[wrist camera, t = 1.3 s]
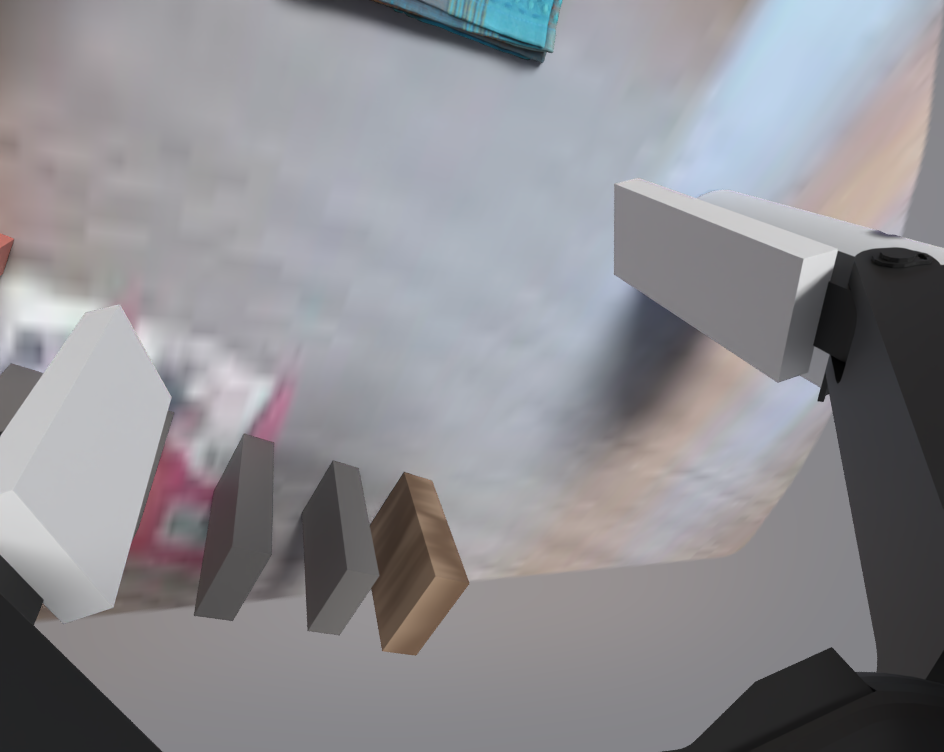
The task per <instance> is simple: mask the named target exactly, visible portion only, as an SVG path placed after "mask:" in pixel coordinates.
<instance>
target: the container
mask: <svg viewBox="0 0 944 752" xmlns="http://www.w3.org/2000/svg"><path fill="white" fill-rule="evenodd" d="M697 199H699V200H702V201H705V202H708V203H711V204H713V205H716V206H719V207H722V208H725V209H727V210H730V211H733V212H736V213H739V214H742V215H744V216H747V217H750V218H753V219H756V220H758V221H761V222H764V223H767V224H770V225H772V226H775V227H778V228H781V229H784V230H787V231H789V232H792V233H795V234H798V235H801V236H803V237H806V238H809V239H812V240H815V241H817V242H820V243H823V244H826V245H829V246H831V247H834V248H837V249H838V251H840V252H843V253H846V254H849V255H852V256H854V257H855V256H856V255H857V254H858V253H860V252H862V251H865V250H869V249H874V248H890V247H899V248H906V249H910V250H914V251H919V252H922V253H927V254H928V255H930V256H932V257H934V258H935V259H936V260H937V261H938V262H939V263H940V265H944V248H941V247H936V246H933V245H930V244H926V243H922V242H919V241H915V240H911V239H908V238H904V237H900V236H897V235H888V234H885V233H883V232H881V231H878V230H875V229H871V228H867V227H864V226H860V225H856V224H853V223H849V222H845V221H842V220H838V219H834V218H831V217H827V216H824V215H820V214H816V213H813V212H809V211H805V210H802V209H798V208H794V207H791V206H787V205H783V204H780V203H776V202H772V201H769V200H765V199H761V198H758V197H754V196H750V195H747V194H743V193H739V192H736V191H732V190H716V191H712V192H709V193H706V194H704V195H702V196H700V197H698V198H697ZM828 359H829V354H828V353H826V352H824V351H822V350H820V349H819V348H817V347H815V346H814V350H813V354H812V359H811V363H810V367H809V371H808V373H805V374H802V375H800V376H802V377H803V378H805V379H807V380H808V381H810V382H812V383H813V384H815V385H817V386H818V387H820V388H821V385H822V381H823V378H824V374H825V370H826V366H827V362H828Z"/></svg>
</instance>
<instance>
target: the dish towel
mask: <svg viewBox="0 0 944 752" xmlns="http://www.w3.org/2000/svg"><path fill="white" fill-rule="evenodd" d="M371 1H374V2H377V3H380V4H383V5H386V6H388V7H390V8H392V9H393V10H394V11H396V12H400V13H403V12H404V13H405V14H406V15H407V16H409V17H412V18H416V19H417V20H419V21H421V22H425V23H428V24H431V25H435V26H438V27H441V28H444V29H446V30H448V31H450V32H452V33H455V34H457V35H461V36H463V37H466V38H468V39H471V40H474V41H477V42H479V43H482V44H484V45H487V46H489V47H492V48H494V49H497V50H499V51H502V52H505V53H509V54H512V55H515V56H518V57H520V58H523V59H526V60H530V59H533V60H536V61H539V62H540V63H543V62H544V60H545V56H546V52H549V53H553V50H554V43H555V36H556V25H557V21H558V16H559V11H560V7H561V4H562V0H371Z"/></svg>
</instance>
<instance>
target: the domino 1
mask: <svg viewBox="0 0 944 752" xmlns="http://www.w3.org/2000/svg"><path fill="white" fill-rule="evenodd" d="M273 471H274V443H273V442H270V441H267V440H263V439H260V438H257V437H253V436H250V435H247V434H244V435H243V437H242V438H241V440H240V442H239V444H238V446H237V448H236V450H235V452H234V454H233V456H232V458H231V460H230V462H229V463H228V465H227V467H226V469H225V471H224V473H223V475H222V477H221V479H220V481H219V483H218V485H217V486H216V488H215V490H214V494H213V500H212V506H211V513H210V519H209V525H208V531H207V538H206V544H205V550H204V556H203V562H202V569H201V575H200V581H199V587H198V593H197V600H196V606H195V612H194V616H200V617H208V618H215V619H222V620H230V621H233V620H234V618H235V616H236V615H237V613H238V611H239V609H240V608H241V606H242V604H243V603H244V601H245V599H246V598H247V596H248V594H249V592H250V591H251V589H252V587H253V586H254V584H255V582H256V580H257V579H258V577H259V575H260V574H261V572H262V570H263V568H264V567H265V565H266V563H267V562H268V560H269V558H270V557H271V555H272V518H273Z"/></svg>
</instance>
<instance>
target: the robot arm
mask: <svg viewBox="0 0 944 752" xmlns="http://www.w3.org/2000/svg"><path fill="white" fill-rule="evenodd" d="M614 275H616V276H617V277H619V278H620V279H622V280H623V281H625V282H626V283H628V284H629V285H631V286H632V287H634V288H635V289H637V290H638V291H640V292H641V293H643V294H644V295H646V296H647V297H649V298H650V299H652V300H653V301H655V302H656V303H658V304H659V305H661V306H663V307H664V308H666V309H667V310H669V311H670V312H672V313H673V314H675V315H676V316H678V317H679V318H681V319H682V320H684V321H685V322H687V323H688V324H690V325H691V326H693V327H694V328H696V329H697V330H699V331H700V332H702V333H703V334H705V335H706V336H708V337H709V338H711V339H712V340H714V341H715V342H717V343H719V344H720V345H722V346H723V347H725V348H726V349H728V350H729V351H731V352H732V353H734V354H735V355H737V356H738V357H740V358H741V359H743V360H744V361H746V362H747V363H749V364H750V365H752V366H753V367H755V368H756V369H758V370H759V371H761V372H762V373H764V374H765V375H767V376H768V377H770V378H771V379H773V380H775V381H776V382H781V381H784V380H787V379H790V378H793V377H796V376H799V375H802V374H805V373H808V371H809V367H810V363H811V359H812V354H813V350H814V346H815V347H817V348H819V349H820V350H822V351H824V352H826V353H828V354H829V359H828V362H827V366H826V370H825V374H824V378H823V381H822V385H821V389H820V393H819V397H818V401H820V402H824V399H825V396H826V395H828V394H829V395H830V400H831V406H832V411H833V416H834V422H835V426H836V432H837V438H838V443H839V448H840V454H841V459H842V464H843V470H844V475H845V480H846V486H847V491H848V496H849V502H850V507H851V513H852V518H853V523H854V528H855V534H856V540H857V545H858V550H859V555H860V560H861V566H862V571H863V576H864V582H865V587H866V593H867V598H868V604H869V609H870V615H871V620H872V625H873V630H874V636H875V641H876V648H877V672H854V670H853V669H852V668H851V667H850V666H849V665H848V664H847V663H846V662H845V661H844V660H843V659H842V657H840V655H839V654H838V653H837V652H836V651H835V650H834V649H833V648H832V647H831V648H829V649H827V650H824V651H823V652H820V653H818V654H816V655H813V656H811V657H809V658H807V659H805V660H803V661H800V662H798V663H796V664H794V665H791V666H789V667H787V668H785V669H782V670H780V671H778V672H776V673H774V674H771V675H769V676H767V677H765V678H763V679H760V680H758V681H756V682H755V683H754V684H753V685H752V686H751V687H749V688H748V690H746V692H744V693H743V694H742V695H741V696H740V697H739V698H738V699H737V700H736V701H735V702H734V703H733V704H732V705H731V706H730V707H729V708H728V709H727V710H726V711H725V712H724V713H723V714H722V715H721V716H720V717H719V718H718V719H717V720H716V721H715V722H714V723H713V724H712V725H711V726H710V727H709V728H708V729H707V730H706V731H705V732H704V733H703V734H702V735H701V736H700V737H699V738H697V739H696V740H695V741H694V742H693V743H692V744H691V745H689V746H687V747H685V748H682V749H678V750H672V751H663V752H944V265H940V263H939V262H938V261H937V260H936V259H935V258H934V257H932V256H930V255H928V254H927V253H922V252H919V251H914V250H910V249H906V248H899V247H890V248H874V249H869V250H865V251H862V252H860V253H858V254H857V255H856V256H855V257H854V256H852V255H849V254H846V253H843V252H840V251H838V249H837V248H834V247H831V246H829V245H826V244H823V243H820V242H817V241H815V240H812V239H809V238H806V237H803V236H801V235H798V234H795V233H792V232H789V231H787V230H784V229H781V228H778V227H775V226H772V225H770V224H767V223H764V222H761V221H758V220H756V219H753V218H750V217H747V216H744V215H742V214H739V213H736V212H733V211H730V210H727V209H725V208H722V207H719V206H716V205H713V204H711V203H708V202H705V201H702V200H699V199H697V198H694V197H691V196H688V195H685V194H683V193H680V192H677V191H674V190H671V189H668V188H666V187H663V186H660V185H657V184H654V183H652V182H649V181H646V180H643V179H640V178H636V179H632V180H628V181H624V182H620V183H616V184H614ZM170 401H171V396H170V394H169V392H168V390H167V388H166V386H165V385H164V383H163V381H162V379H161V377H160V376H159V374H158V372H157V370H156V368H155V367H154V365H153V363H152V361H151V359H150V358H149V356H148V354H147V352H146V350H145V349H144V347H143V345H142V343H141V341H140V340H139V338H138V336H137V334H136V332H135V331H134V329H133V327H132V325H131V323H130V322H129V320H128V318H127V316H126V314H125V313H124V311H123V309H122V307H121V305H120V304H119V305H114V306H110V307H106V308H102V309H98V310H94V311H90V312H86V313H85V314H84V315H83V317H82V318H81V320H80V321H79V322H78V324H77V325H76V327H75V328H74V330H73V331H72V333H71V334H70V336H69V337H68V338H67V340H66V341H65V343H64V344H63V346H62V347H61V349H60V350H59V352H58V353H57V354H56V356H55V357H54V359H53V360H52V362H51V363H50V365H49V366H48V368H47V369H46V370H45V372H44V373H43V375H42V376H41V378H40V379H39V381H38V382H37V384H36V385H35V386H34V388H33V389H32V391H31V392H30V394H29V395H28V397H27V398H26V400H25V401H24V402H23V404H22V405H21V407H20V408H19V410H18V411H17V413H16V414H15V416H14V417H13V418H12V420H11V421H10V423H9V424H8V426H7V427H6V429H5V430H4V431H1V432H0V752H162V751H161V750H160V749H159V748H158V747H157V746H156V745H155V744H154V743H153V742H152V741H151V740H150V739H149V738H148V737H147V736H146V735H145V734H144V733H143V732H142V731H141V730H140V729H139V728H138V727H137V726H136V725H135V724H133V722H131V720H130V719H129V718H127V717H126V715H124V714H123V713H122V712H121V711H120V710H119V709H118V708H117V707H116V706H115V705H114V704H113V703H112V702H111V701H110V700H109V699H108V698H107V697H106V696H105V695H104V694H103V693H102V692H101V691H100V690H99V689H98V688H97V687H96V686H95V685H94V684H93V683H92V682H91V681H90V680H89V679H88V678H87V677H86V676H85V675H84V674H83V673H82V672H80V670H78V669H77V668H76V667H75V666H74V665H73V664H72V663H71V662H70V661H69V660H68V659H67V658H66V657H65V656H64V655H63V654H62V653H61V652H60V651H59V650H58V649H57V648H56V647H55V646H54V645H53V644H52V643H51V642H50V641H49V640H48V639H47V638H46V637H45V636H44V635H43V634H41V632H40V631H39V630H38V629H37V628H35V626H34V623H35V621H36V618H37V616H38V613H39V611H40V608H41V606H42V603H43V604H44V605H45V606H46V607H47V608H48V609H49V610H50V611H51V612H52V613H53V614H54V615H55V616H56V617H57V618H58V619H59V620H60V621H61V622H62V623H63V624H66V623H69V622H72V621H75V620H78V619H81V618H84V617H87V616H90V615H93V614H96V613H99V612H102V611H105V610H107V609H110V608H113V607H114V603H115V600H116V596H117V593H118V589H119V585H120V582H121V578H122V574H123V571H124V567H125V564H126V560H127V556H128V553H129V549H130V545H131V542H132V538H133V535H134V531H135V527H136V524H137V520H138V517H139V513H140V509H141V506H142V502H143V498H144V495H145V491H146V488H147V484H148V480H149V477H150V473H151V469H152V466H153V462H154V459H155V455H156V451H157V448H158V444H159V441H160V437H161V433H162V430H163V426H164V422H165V419H166V415H167V412H168V408H169V404H170Z"/></svg>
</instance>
